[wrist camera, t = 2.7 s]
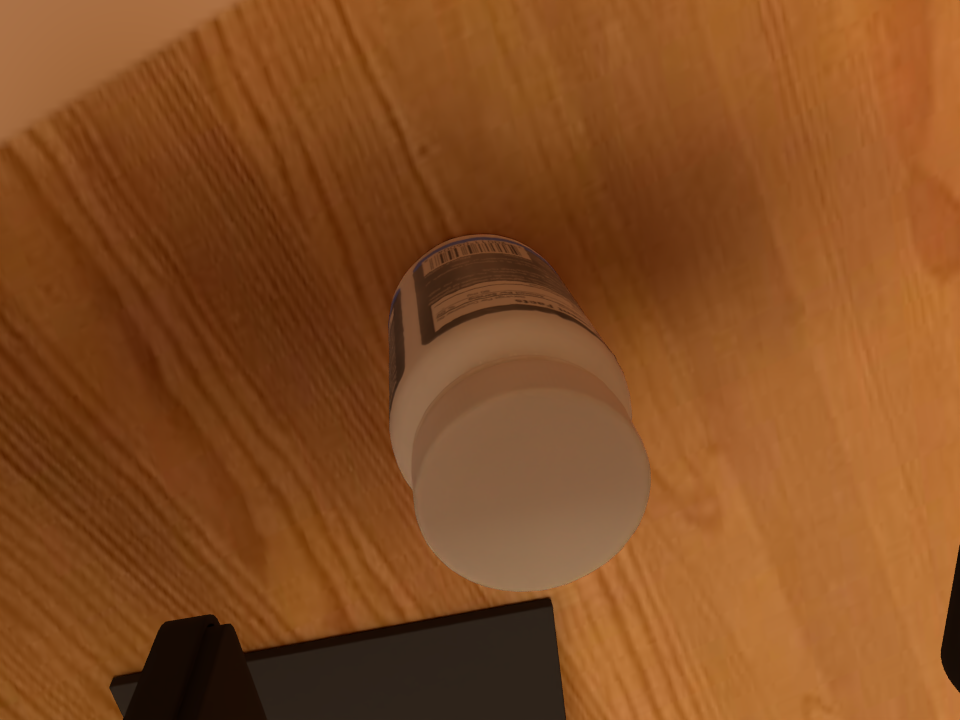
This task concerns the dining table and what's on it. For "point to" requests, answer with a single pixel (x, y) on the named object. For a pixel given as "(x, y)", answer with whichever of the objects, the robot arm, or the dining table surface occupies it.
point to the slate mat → (414, 671)
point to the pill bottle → (510, 418)
